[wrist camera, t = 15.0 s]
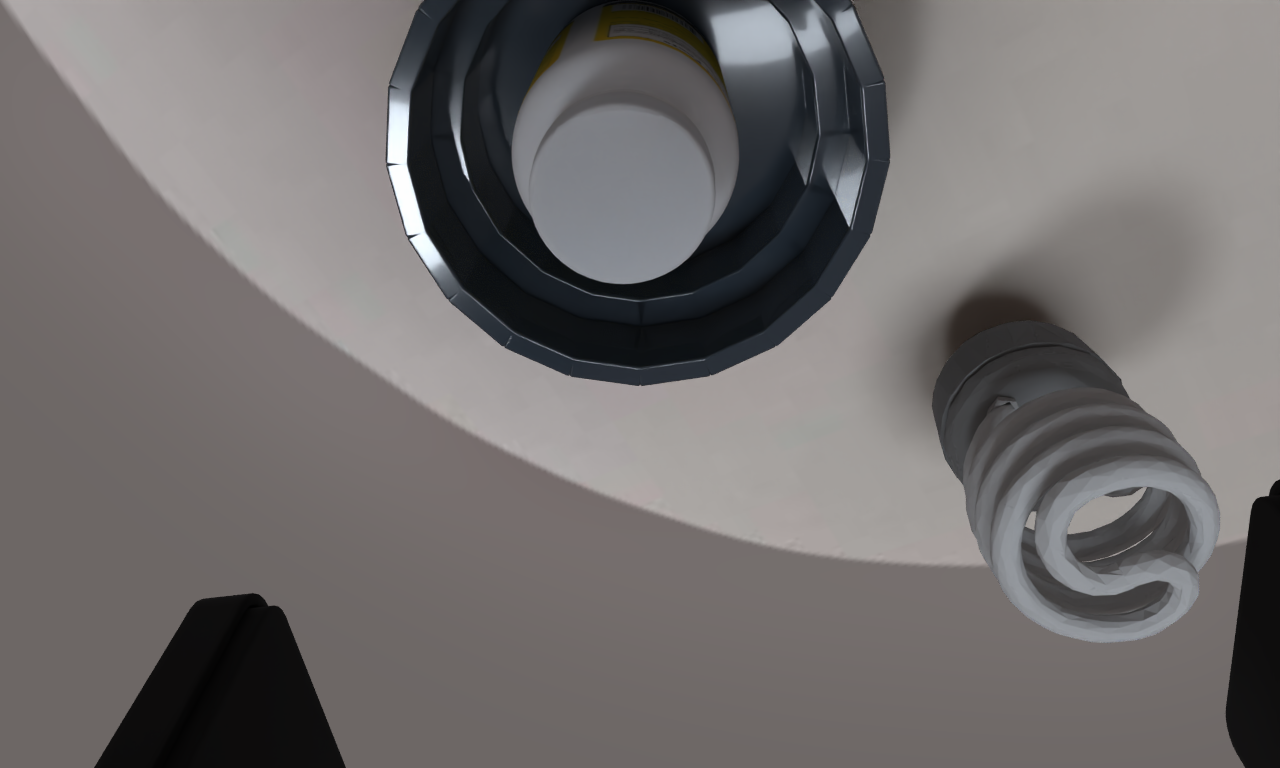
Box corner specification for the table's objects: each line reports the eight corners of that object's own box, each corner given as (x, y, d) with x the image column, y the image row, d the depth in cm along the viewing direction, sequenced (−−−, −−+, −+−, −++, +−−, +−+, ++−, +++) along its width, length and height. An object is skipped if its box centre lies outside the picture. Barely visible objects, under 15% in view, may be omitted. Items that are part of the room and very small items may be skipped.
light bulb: (872, 386, 36) (957, 620, 26) (974, 247, 34) (1115, 440, 23) (1008, 457, 37) (1144, 709, 27) (1115, 327, 35) (1312, 547, 24)
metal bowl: (383, -79, 30) (321, -58, 25) (831, -164, 29) (868, -162, 23) (487, 325, 35) (456, 413, 30) (867, 268, 34) (904, 349, 29)
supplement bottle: (584, 211, 33) (554, 348, 24) (508, 42, 31) (445, 125, 22) (751, 145, 32) (783, 263, 23) (684, -35, 30) (692, 22, 21)
